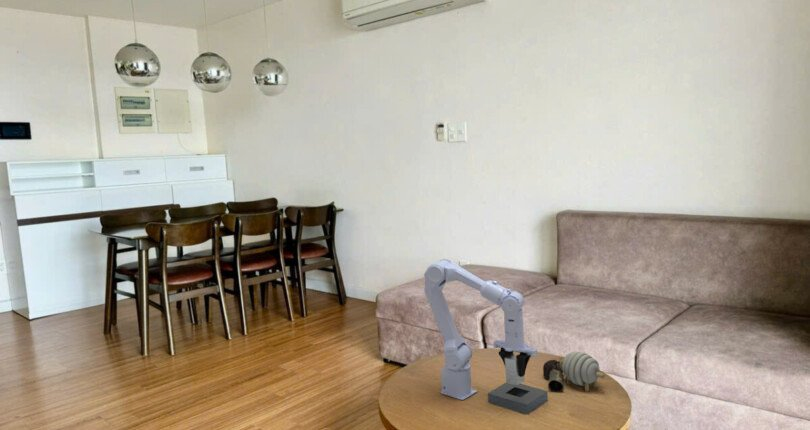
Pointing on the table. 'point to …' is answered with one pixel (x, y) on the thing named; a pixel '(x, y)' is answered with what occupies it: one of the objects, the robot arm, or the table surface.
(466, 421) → the table surface
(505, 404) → the grey slab with hole
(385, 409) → the table surface
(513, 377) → the grey wooden block
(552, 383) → the tube with rough end
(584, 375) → the toy sheep
